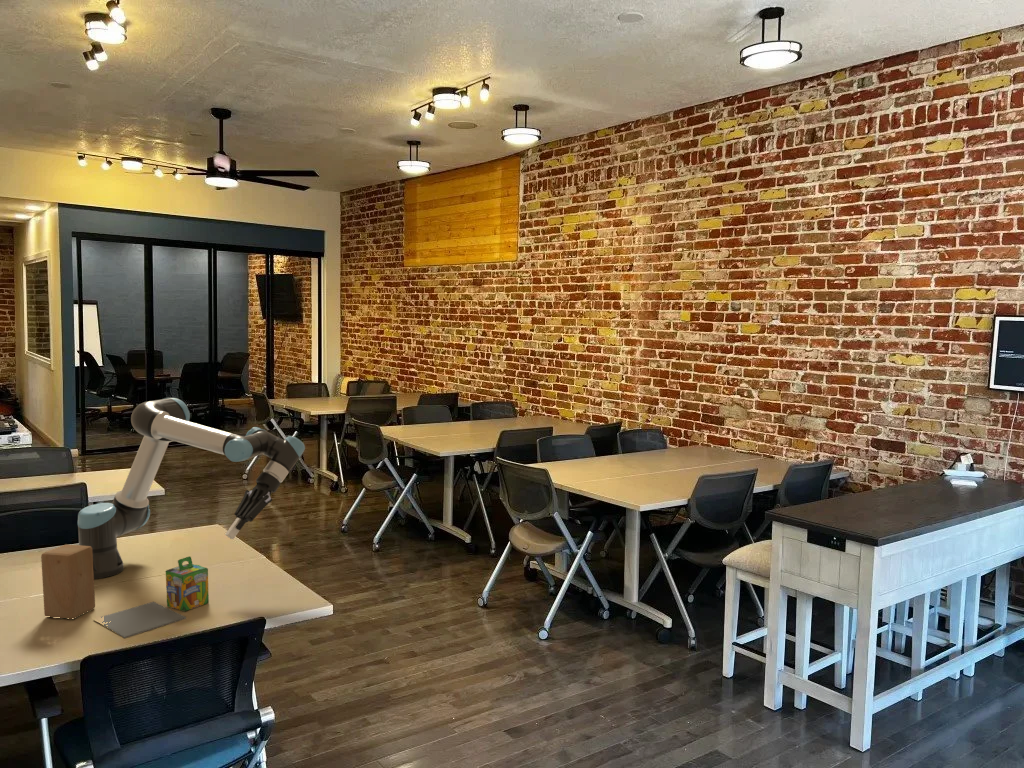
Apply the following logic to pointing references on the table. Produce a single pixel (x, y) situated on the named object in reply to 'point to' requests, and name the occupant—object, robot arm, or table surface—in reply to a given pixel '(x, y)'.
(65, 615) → the wooden block
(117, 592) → the table surface
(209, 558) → the table surface
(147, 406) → the robot arm
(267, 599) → the table surface
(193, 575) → the chalk box
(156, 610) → the mat
